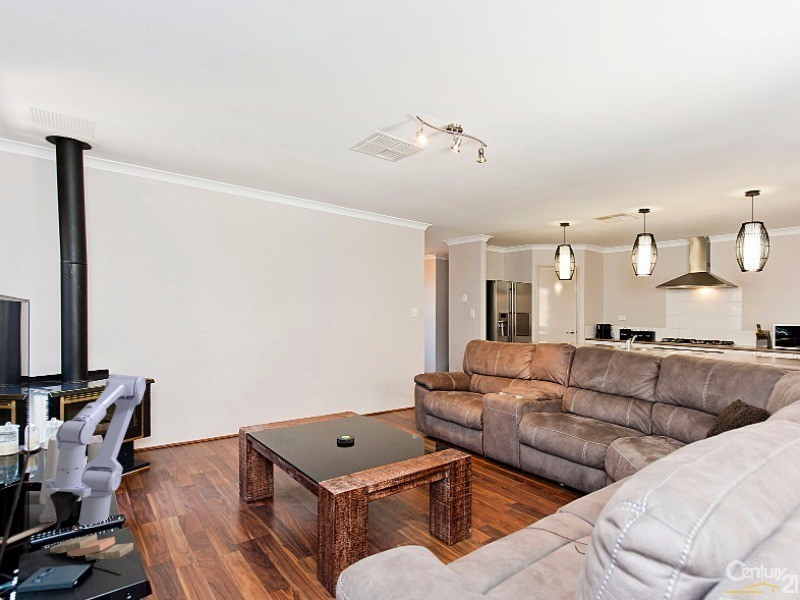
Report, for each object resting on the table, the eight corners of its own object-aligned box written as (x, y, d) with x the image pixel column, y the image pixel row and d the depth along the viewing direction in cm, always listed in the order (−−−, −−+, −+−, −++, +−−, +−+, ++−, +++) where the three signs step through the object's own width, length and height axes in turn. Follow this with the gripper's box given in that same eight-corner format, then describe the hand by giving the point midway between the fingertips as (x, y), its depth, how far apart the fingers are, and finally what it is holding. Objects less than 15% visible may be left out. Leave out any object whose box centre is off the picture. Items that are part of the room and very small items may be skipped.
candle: (37, 505, 141) (47, 441, 143) (41, 497, 148) (50, 436, 149) (80, 501, 147) (89, 439, 149) (82, 494, 153) (91, 434, 155)
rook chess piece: (37, 519, 132) (41, 491, 133) (56, 516, 135) (60, 488, 136) (39, 524, 129) (43, 496, 130) (58, 521, 132) (62, 493, 133)
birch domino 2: (85, 554, 112) (119, 550, 111) (100, 546, 117) (133, 542, 116) (85, 561, 112) (119, 557, 111) (100, 553, 117) (133, 549, 116)
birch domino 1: (50, 548, 114) (79, 542, 112) (68, 540, 119) (96, 534, 117) (50, 554, 114) (80, 548, 112) (68, 546, 119) (97, 540, 117)
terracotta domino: (67, 551, 113) (99, 544, 112) (83, 543, 118) (114, 536, 117) (67, 558, 112) (100, 551, 112) (84, 550, 117) (115, 543, 117)
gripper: (35, 466, 117) (26, 519, 116) (75, 475, 113) (67, 531, 112) (62, 459, 124) (54, 510, 123) (101, 468, 119) (93, 521, 118)
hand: (62, 520), depth 118 cm, fingers closed
